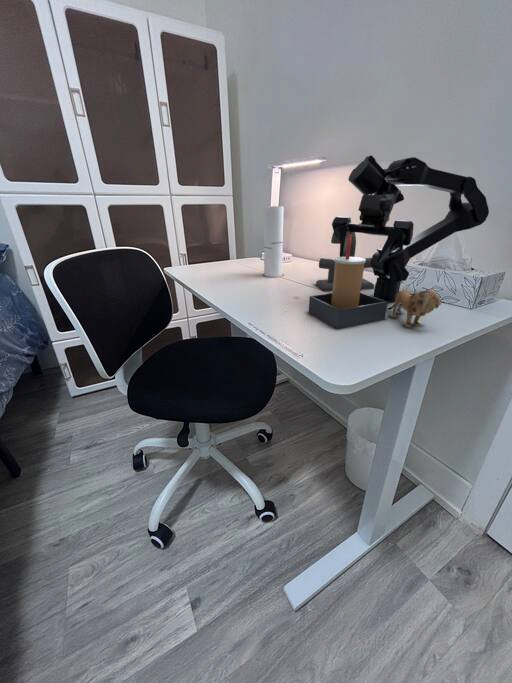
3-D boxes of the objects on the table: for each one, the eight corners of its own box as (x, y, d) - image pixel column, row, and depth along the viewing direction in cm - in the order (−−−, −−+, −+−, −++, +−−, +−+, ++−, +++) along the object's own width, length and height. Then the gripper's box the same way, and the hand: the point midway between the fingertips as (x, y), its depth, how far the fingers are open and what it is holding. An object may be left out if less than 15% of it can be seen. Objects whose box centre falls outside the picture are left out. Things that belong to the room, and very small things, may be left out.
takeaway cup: (346, 307, 78) (356, 232, 70) (363, 316, 72) (376, 234, 64) (324, 311, 76) (331, 233, 68) (339, 320, 70) (349, 236, 62)
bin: (351, 305, 81) (353, 289, 79) (384, 319, 71) (388, 301, 69) (308, 312, 76) (309, 296, 74) (337, 329, 66) (339, 310, 64)
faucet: (354, 277, 111) (362, 220, 102) (375, 288, 96) (386, 223, 88) (308, 279, 109) (312, 222, 100) (322, 291, 94) (328, 225, 86)
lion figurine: (438, 331, 64) (449, 291, 60) (417, 334, 63) (427, 293, 59) (395, 310, 77) (402, 276, 73) (377, 311, 76) (383, 277, 72)
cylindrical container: (282, 277, 113) (284, 206, 102) (264, 277, 113) (264, 206, 102) (281, 272, 120) (282, 206, 109) (264, 273, 120) (263, 206, 109)
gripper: (339, 180, 71) (315, 233, 68) (424, 180, 61) (400, 242, 59) (346, 213, 80) (325, 261, 78) (420, 217, 71) (399, 272, 68)
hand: (358, 259), depth 70 cm, fingers open, 9 cm apart
